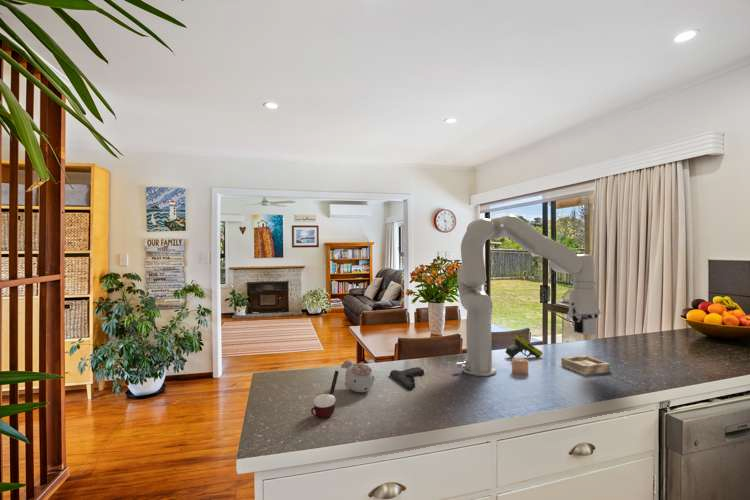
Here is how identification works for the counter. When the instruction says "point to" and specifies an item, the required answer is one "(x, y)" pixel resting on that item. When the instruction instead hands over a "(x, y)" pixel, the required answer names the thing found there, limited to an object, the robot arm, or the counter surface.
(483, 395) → the counter surface
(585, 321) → the housing
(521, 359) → the tan square block
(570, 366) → the wooden tray
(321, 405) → the cocoa
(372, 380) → the toy
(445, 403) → the counter surface
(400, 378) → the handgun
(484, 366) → the robot arm
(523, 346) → the toy gun
